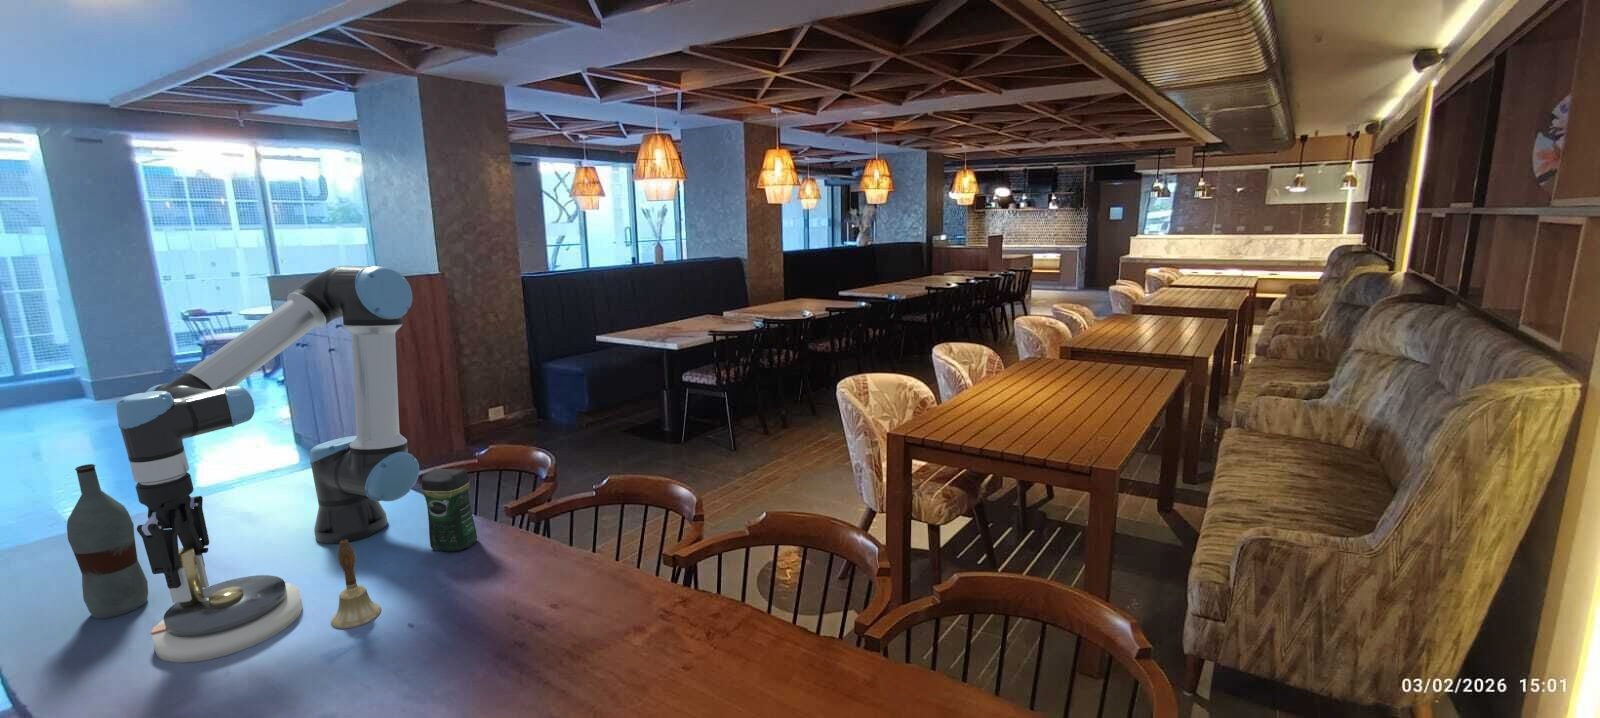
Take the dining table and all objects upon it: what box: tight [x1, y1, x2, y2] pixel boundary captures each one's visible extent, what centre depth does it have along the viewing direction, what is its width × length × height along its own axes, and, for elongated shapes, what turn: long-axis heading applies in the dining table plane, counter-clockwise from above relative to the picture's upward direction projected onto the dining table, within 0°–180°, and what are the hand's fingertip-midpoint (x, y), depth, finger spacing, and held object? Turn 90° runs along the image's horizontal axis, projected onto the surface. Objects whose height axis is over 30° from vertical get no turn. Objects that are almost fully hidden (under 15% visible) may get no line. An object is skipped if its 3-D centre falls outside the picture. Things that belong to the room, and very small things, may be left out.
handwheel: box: [163, 547, 287, 637], centre depth 133 cm, size 18×18×12 cm
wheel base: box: [150, 582, 303, 664], centre depth 135 cm, size 22×22×4 cm
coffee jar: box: [421, 468, 478, 552], centre depth 164 cm, size 10×8×19 cm
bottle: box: [66, 463, 149, 620], centre depth 140 cm, size 9×9×30 cm
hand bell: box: [330, 539, 382, 630], centre depth 136 cm, size 8×8×16 cm
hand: (191, 593), depth 133 cm, fingers open, 4 cm apart
